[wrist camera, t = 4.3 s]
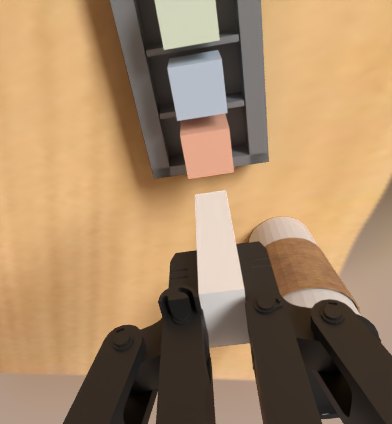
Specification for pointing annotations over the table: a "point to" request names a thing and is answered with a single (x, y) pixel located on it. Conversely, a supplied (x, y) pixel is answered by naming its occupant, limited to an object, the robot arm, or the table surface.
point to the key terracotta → (206, 146)
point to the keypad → (161, 89)
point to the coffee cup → (304, 280)
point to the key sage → (187, 22)
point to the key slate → (197, 85)
